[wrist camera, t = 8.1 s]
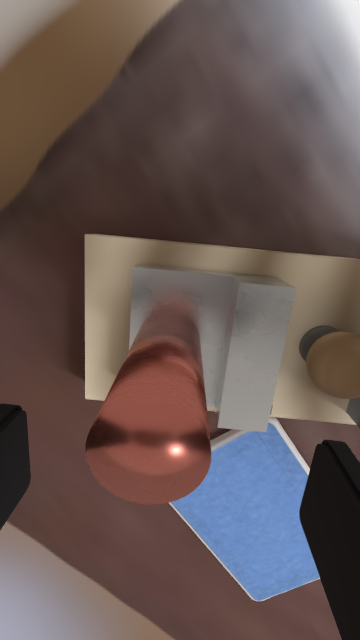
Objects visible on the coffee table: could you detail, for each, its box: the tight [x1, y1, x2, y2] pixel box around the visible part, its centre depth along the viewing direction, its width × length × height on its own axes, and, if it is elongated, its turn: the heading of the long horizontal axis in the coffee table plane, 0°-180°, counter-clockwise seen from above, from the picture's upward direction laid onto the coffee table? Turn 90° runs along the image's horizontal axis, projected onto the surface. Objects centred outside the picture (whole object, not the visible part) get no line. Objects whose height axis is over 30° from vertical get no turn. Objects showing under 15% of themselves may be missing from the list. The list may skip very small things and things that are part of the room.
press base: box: [85, 234, 360, 428], centre depth 19 cm, size 23×12×7 cm, turn 85°
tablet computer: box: [169, 417, 320, 601], centre depth 28 cm, size 19×13×1 cm, turn 34°
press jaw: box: [85, 264, 296, 505], centre depth 15 cm, size 9×9×12 cm
